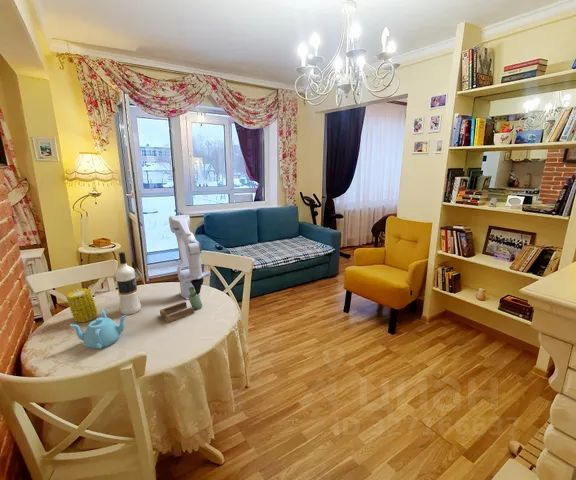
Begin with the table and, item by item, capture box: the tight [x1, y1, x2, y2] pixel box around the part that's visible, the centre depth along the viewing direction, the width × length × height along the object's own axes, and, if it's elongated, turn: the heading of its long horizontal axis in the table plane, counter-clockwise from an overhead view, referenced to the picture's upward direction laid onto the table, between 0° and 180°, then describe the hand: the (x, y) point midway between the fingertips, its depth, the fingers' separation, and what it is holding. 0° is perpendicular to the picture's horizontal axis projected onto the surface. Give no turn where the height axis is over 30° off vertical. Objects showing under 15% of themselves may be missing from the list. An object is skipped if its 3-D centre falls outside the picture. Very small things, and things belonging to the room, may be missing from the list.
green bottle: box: [188, 287, 203, 311], centre depth 147 cm, size 5×5×11 cm
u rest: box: [159, 301, 195, 324], centre depth 142 cm, size 9×13×3 cm
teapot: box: [69, 308, 128, 350], centre depth 121 cm, size 15×15×10 cm
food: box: [65, 287, 98, 323], centre depth 139 cm, size 15×12×10 cm
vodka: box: [114, 251, 142, 316], centre depth 144 cm, size 9×9×30 cm
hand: (197, 292), depth 148 cm, fingers closed, pressing on green bottle
